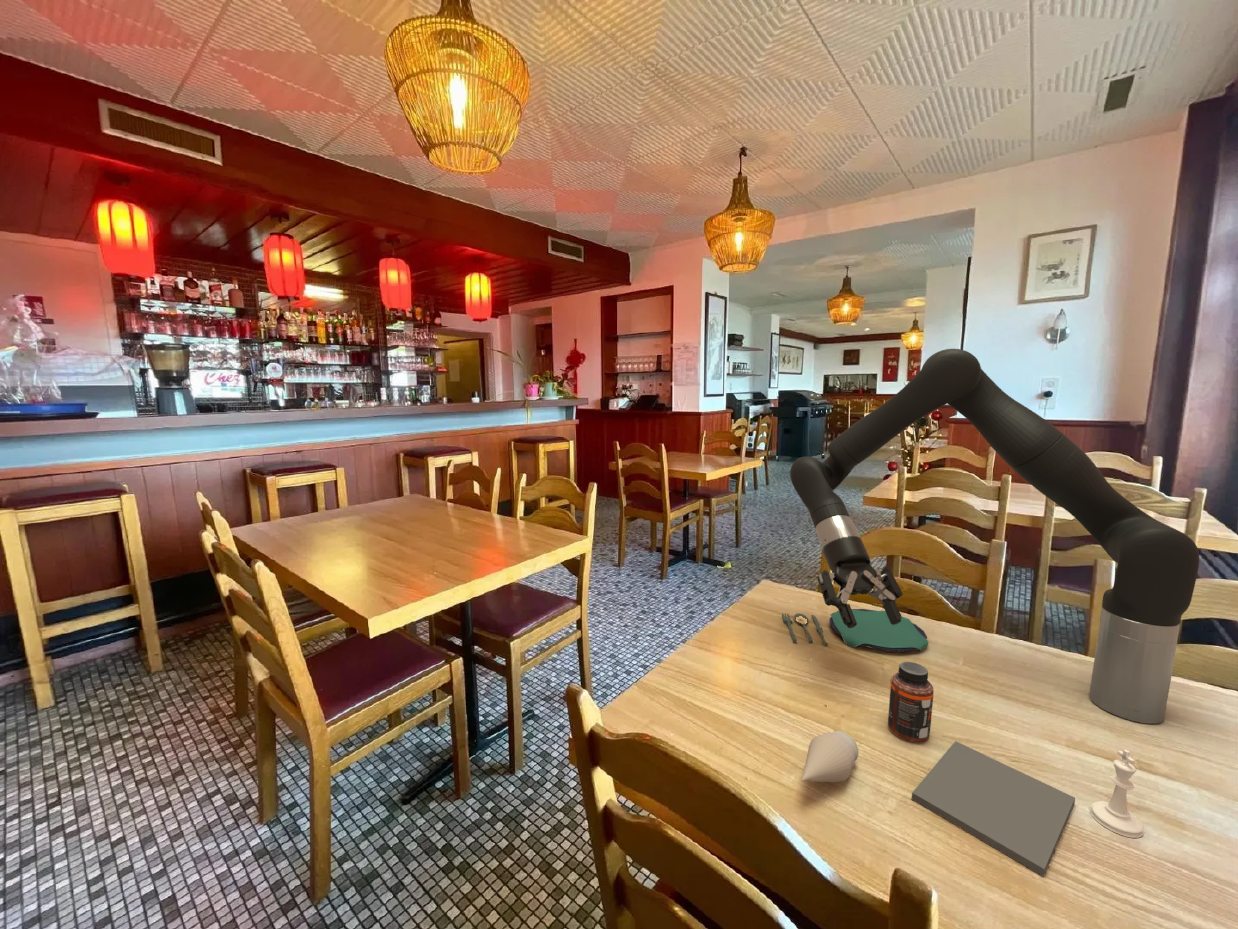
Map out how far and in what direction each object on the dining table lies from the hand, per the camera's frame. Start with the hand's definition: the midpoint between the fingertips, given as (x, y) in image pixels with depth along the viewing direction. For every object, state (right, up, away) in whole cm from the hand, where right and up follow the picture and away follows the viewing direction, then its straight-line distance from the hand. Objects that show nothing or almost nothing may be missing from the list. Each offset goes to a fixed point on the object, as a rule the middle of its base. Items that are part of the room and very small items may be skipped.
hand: (874, 625), depth 88 cm
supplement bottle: (+1, -15, -8) cm, 17 cm away
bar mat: (+5, -17, -21) cm, 28 cm away
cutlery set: (+8, -11, +26) cm, 29 cm away
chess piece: (+18, -18, -24) cm, 35 cm away
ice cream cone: (-16, -17, -17) cm, 29 cm away
